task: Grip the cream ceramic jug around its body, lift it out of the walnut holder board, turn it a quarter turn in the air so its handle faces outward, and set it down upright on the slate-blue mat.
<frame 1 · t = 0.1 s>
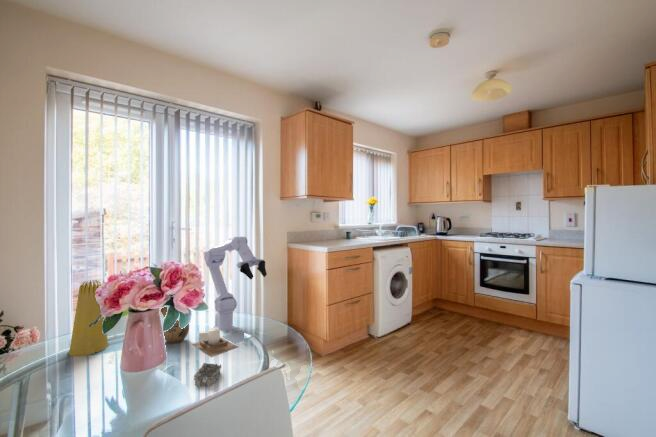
hand: (258, 276, 137), 32 cm above the table, tool tilted 50°, fingers open, 7 cm apart
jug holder: (214, 346, 133), on the table
ceramic vessel: (175, 342, 137), on the table
grey speckled lump: (207, 379, 108), on the table
mat: (238, 337, 144), on the table
jug: (213, 344, 134), point 1 cm above the table, touching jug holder
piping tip: (89, 349, 128), on the table
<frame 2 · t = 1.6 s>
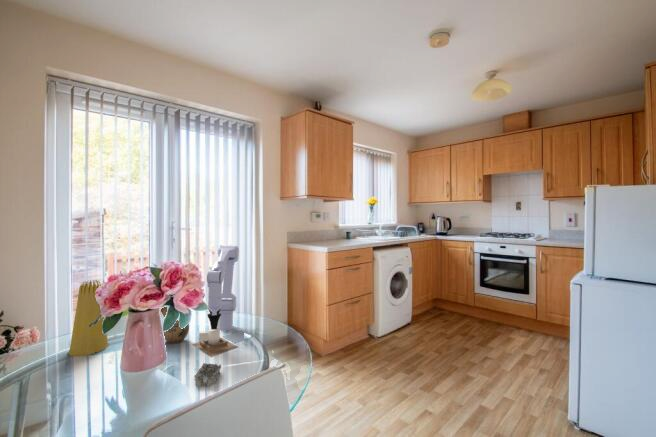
hand: (214, 326, 134), 9 cm above the table, tool pointing down, fingers open, 7 cm apart
nothing on the table moved.
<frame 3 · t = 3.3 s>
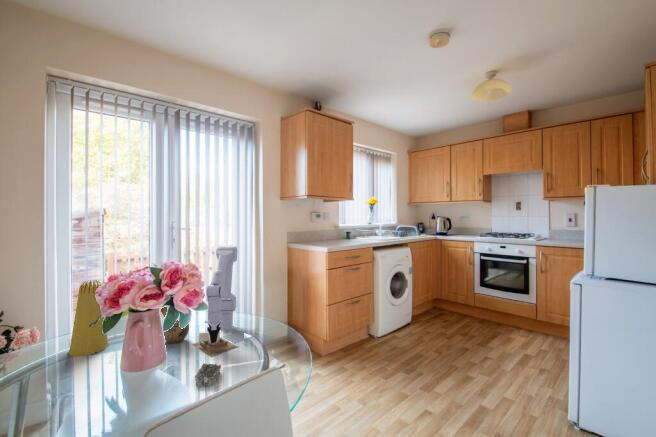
hand: (213, 339, 134), 3 cm above the table, tool pointing down, fingers closed on jug, 5 cm apart
jug: (213, 344, 134), point 1 cm above the table, touching gripper, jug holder
everything else where it was.
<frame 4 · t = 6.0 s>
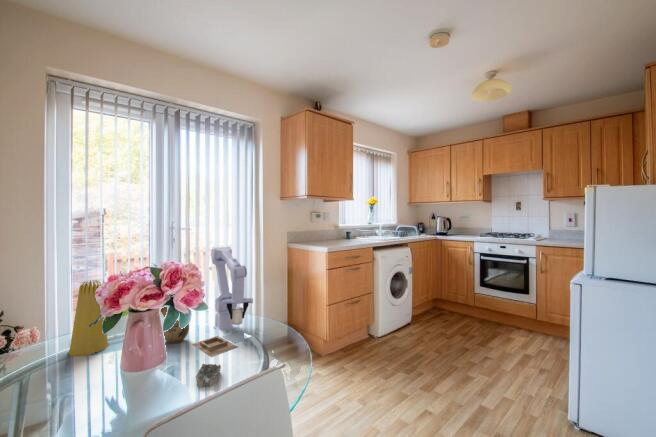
hand: (237, 318, 143), 10 cm above the table, tool pointing down, fingers closed on jug, 5 cm apart
jug: (237, 322, 143), point 8 cm above the table, touching gripper
everything else where it was.
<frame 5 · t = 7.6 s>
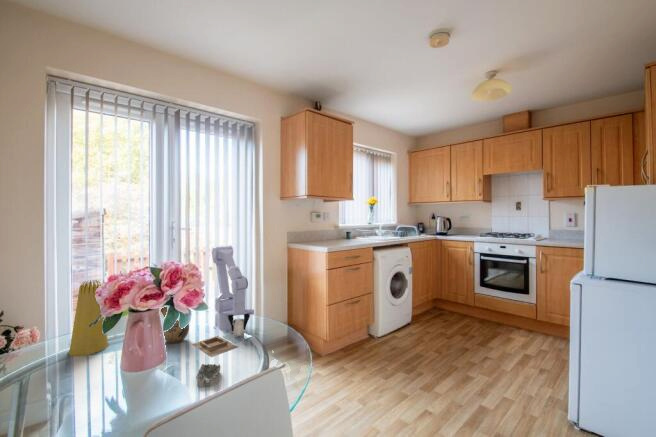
hand: (238, 329, 144), 4 cm above the table, tool pointing down, fingers closed on jug, 5 cm apart
jug: (238, 334, 144), point 2 cm above the table, touching gripper
everything else where it was.
when the fingers open (4 cm above the table, at t = 8.8 s): jug drops 1 cm, resting on mat.
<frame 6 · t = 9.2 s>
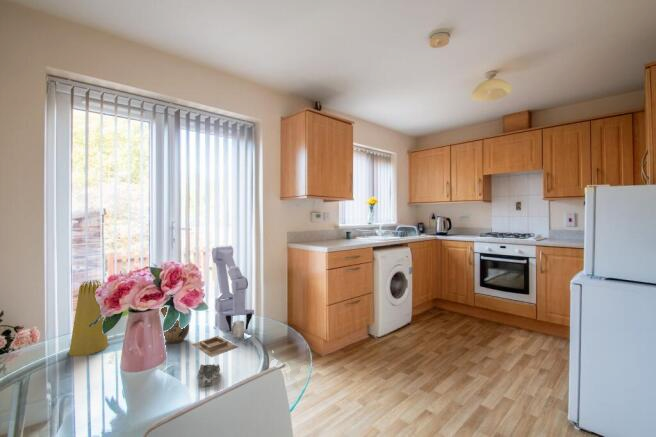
hand: (238, 329, 144), 4 cm above the table, tool pointing down, fingers open, 7 cm apart
jug: (238, 336, 144), point 1 cm above the table, touching mat
everything else where it was.
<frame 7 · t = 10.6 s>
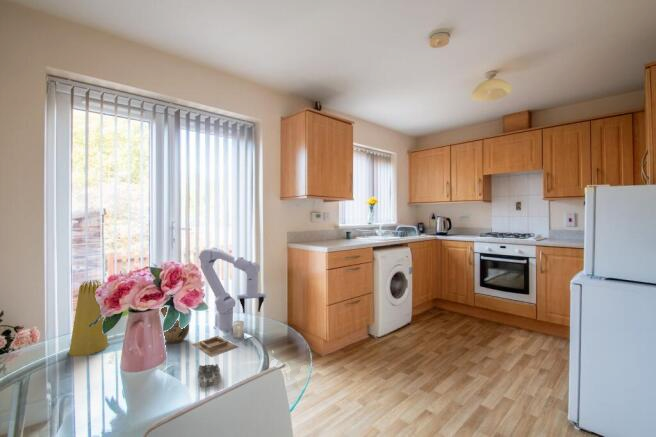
hand: (251, 312, 153), 10 cm above the table, tool pointing down, fingers open, 7 cm apart
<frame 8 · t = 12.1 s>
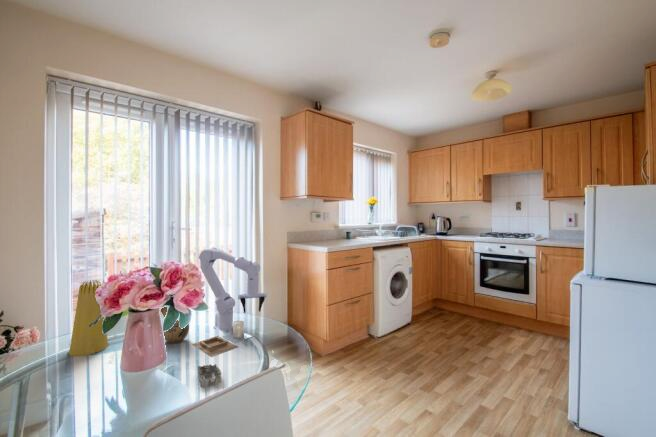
hand: (252, 311, 153), 10 cm above the table, tool pointing down, fingers open, 7 cm apart
at the end: jug 0.0 cm off-centre on the mat, point 0.6 cm above the mat's base; jug tilted 0°; the gripper is holding nothing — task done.
